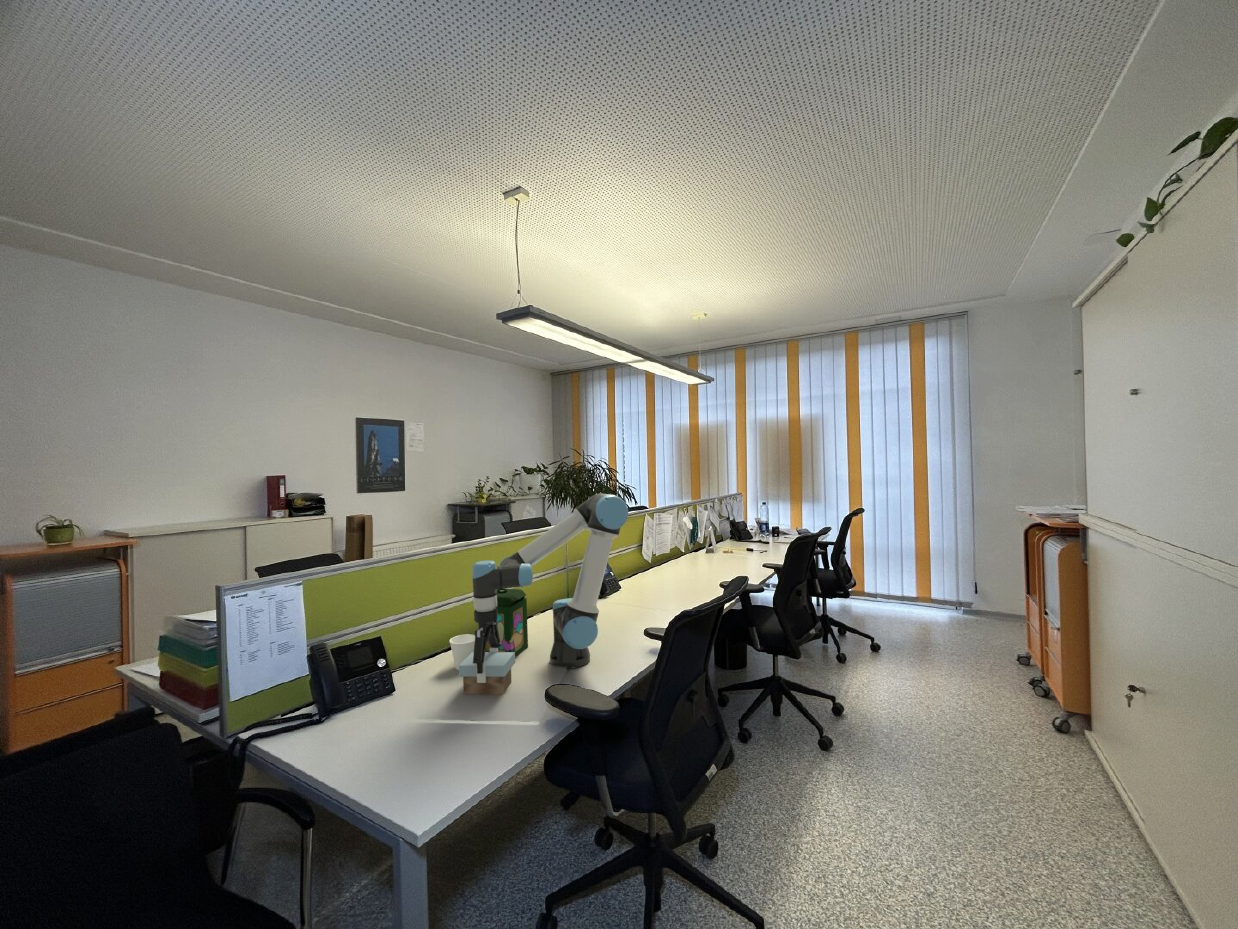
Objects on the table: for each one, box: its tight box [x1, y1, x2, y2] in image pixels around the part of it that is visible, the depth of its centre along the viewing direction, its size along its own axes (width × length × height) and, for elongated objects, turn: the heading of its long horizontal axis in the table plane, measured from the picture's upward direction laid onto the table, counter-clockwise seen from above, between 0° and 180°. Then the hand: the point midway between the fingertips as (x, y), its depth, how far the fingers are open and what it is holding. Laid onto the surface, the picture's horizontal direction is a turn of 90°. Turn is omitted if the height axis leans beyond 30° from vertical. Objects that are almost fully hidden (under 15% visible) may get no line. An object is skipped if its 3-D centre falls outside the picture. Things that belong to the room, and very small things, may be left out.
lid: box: [458, 652, 516, 677], centre depth 163 cm, size 15×11×4 cm
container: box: [477, 588, 529, 658], centre depth 196 cm, size 15×18×25 cm
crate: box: [462, 668, 513, 696], centre depth 163 cm, size 13×9×9 cm
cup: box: [449, 633, 475, 671], centre depth 182 cm, size 10×10×11 cm
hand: (488, 674), depth 163 cm, fingers closed on lid, 11 cm apart
